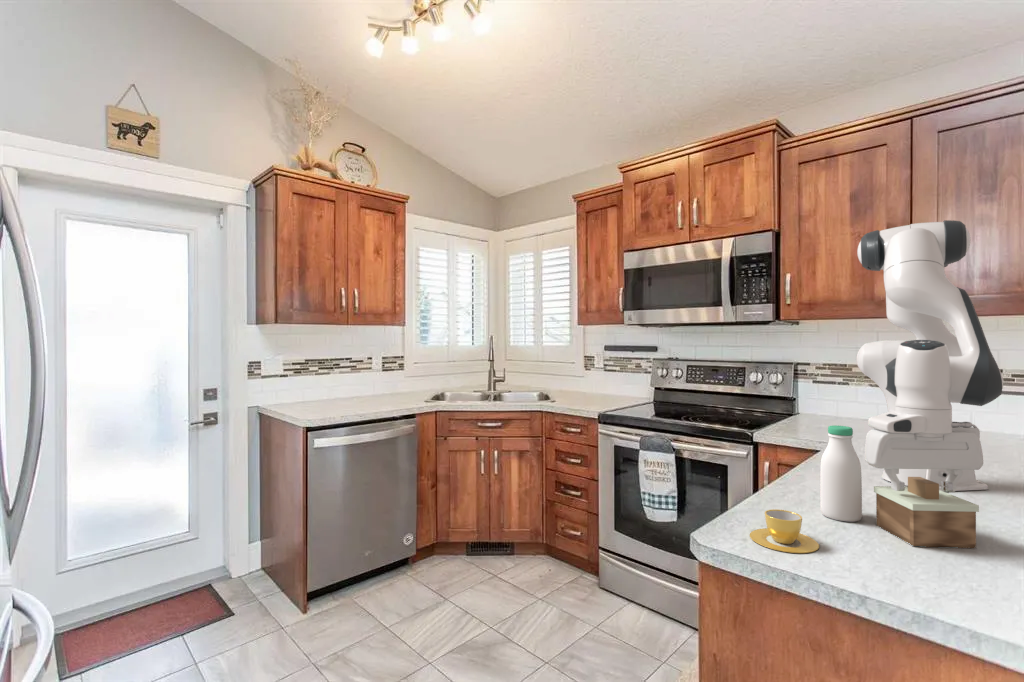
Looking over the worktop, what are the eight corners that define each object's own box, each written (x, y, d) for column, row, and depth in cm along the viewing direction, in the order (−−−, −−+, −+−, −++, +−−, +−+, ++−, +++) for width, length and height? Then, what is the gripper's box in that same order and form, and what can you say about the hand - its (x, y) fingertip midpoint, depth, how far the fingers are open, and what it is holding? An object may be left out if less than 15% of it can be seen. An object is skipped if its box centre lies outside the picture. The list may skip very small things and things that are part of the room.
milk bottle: (868, 523, 106) (868, 430, 106) (828, 521, 108) (828, 429, 108) (852, 511, 114) (851, 424, 114) (814, 509, 116) (814, 423, 116)
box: (932, 526, 105) (931, 493, 105) (976, 548, 94) (975, 511, 94) (876, 525, 106) (876, 492, 106) (913, 546, 95) (913, 509, 95)
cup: (811, 561, 89) (811, 531, 89) (741, 543, 97) (741, 515, 97) (825, 540, 98) (824, 513, 98) (759, 526, 106) (759, 500, 106)
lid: (932, 492, 105) (932, 472, 105) (978, 511, 93) (978, 489, 93) (873, 491, 106) (873, 472, 106) (912, 510, 94) (912, 488, 94)
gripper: (965, 419, 102) (966, 486, 102) (859, 418, 104) (860, 485, 104) (992, 424, 95) (993, 496, 96) (879, 423, 97) (879, 494, 97)
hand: (923, 490), depth 100 cm, fingers open, 8 cm apart
